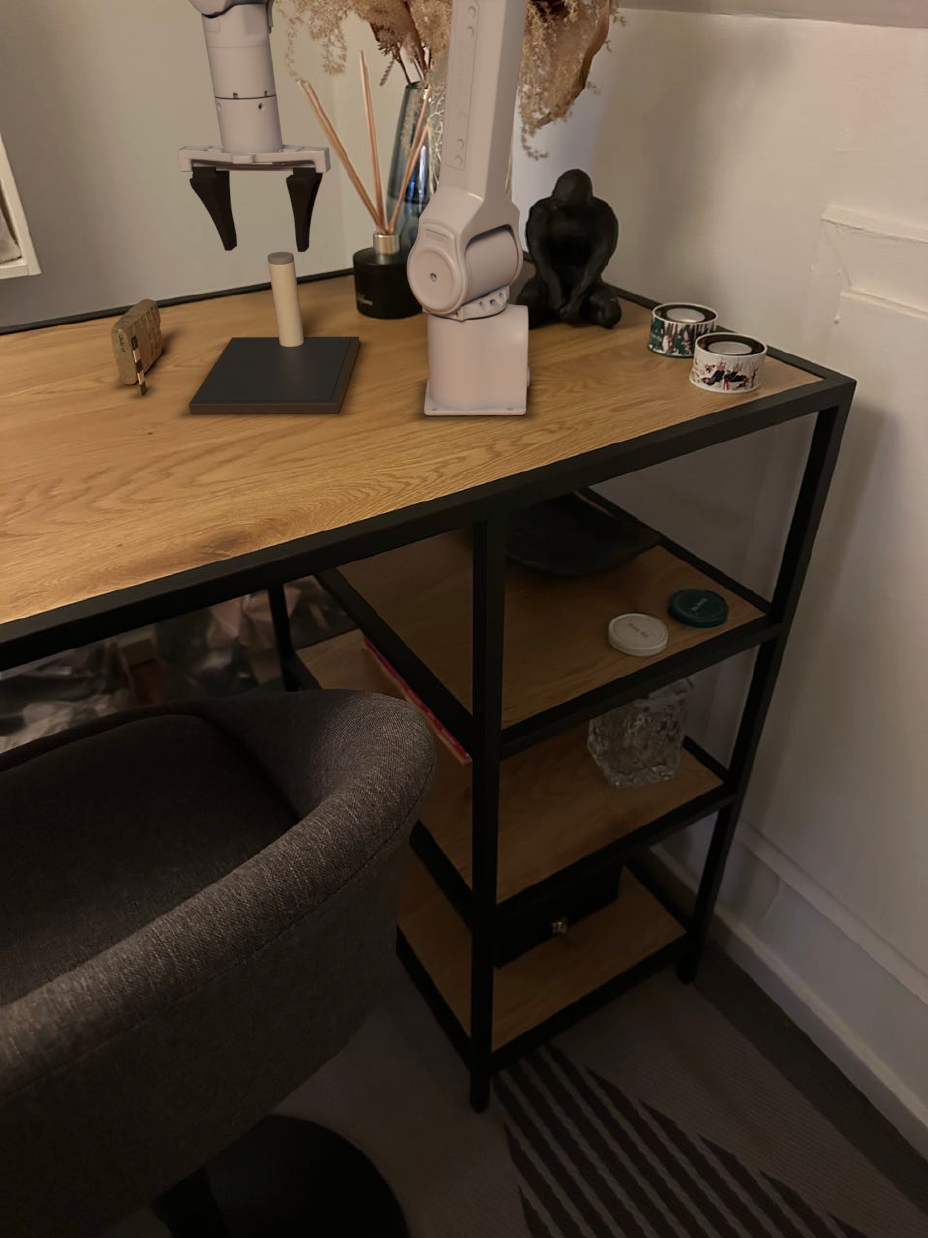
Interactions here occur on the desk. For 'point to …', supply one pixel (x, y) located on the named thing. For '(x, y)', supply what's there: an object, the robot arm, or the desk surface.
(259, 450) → the desk surface
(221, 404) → the plate
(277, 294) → the stylus
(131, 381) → the cuneiform tablet
